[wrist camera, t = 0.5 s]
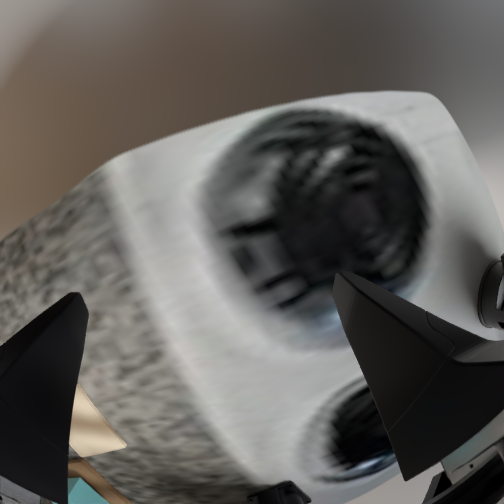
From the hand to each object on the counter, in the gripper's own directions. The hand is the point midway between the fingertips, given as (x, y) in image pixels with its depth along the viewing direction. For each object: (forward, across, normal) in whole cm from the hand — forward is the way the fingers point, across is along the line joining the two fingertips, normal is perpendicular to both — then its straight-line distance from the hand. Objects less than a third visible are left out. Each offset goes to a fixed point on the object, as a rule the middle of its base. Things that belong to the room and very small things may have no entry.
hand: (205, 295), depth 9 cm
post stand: (-1, +23, +35) cm, 42 cm away
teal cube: (-3, +23, +34) cm, 41 cm away
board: (+5, +18, +23) cm, 30 cm away
